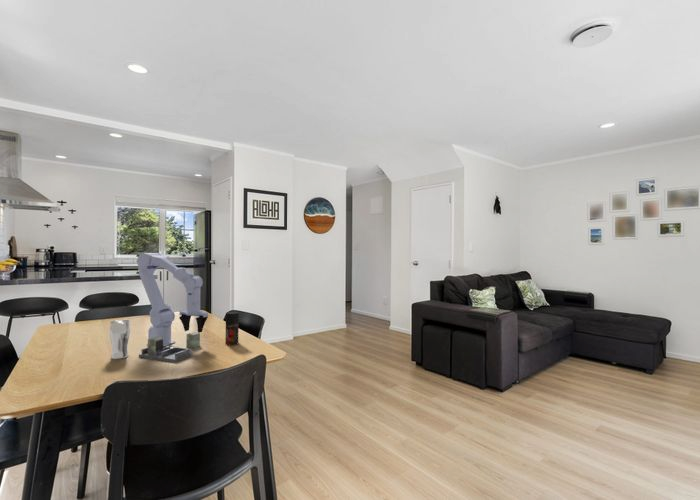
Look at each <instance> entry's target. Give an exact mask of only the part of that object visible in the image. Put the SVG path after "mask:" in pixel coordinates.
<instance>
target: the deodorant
mask: <svg viewBox="0 0 700 500" xmlns="http://www.w3.org/2000/svg"><path fill="white" fill-rule="evenodd" d="M239 315H240V313H239V312H238V311H227V312H226V313H225V345H226V344H227V345H226V346H234V345H233V344H237V343H238V344H239V328H240V327H239V318H240V317H239ZM238 344H237V345H238Z"/></svg>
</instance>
